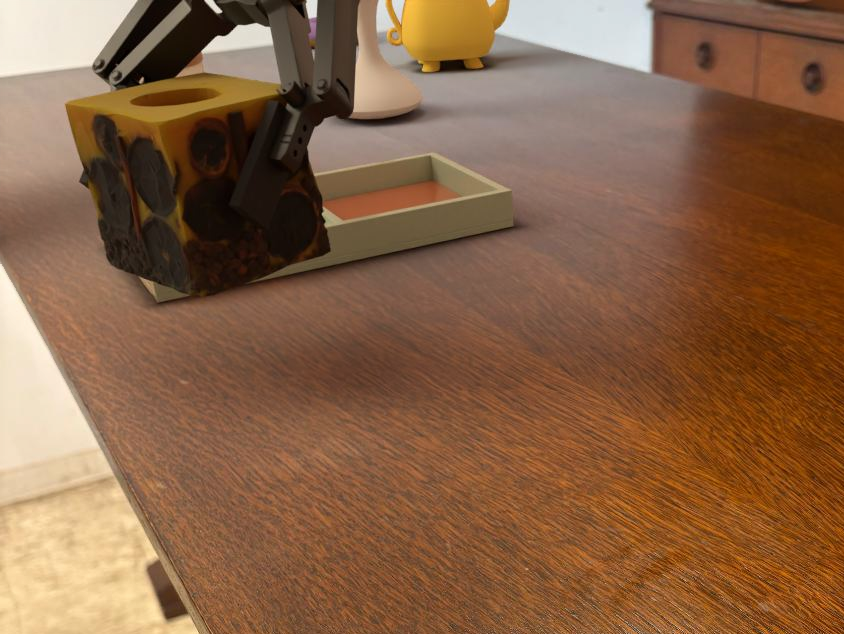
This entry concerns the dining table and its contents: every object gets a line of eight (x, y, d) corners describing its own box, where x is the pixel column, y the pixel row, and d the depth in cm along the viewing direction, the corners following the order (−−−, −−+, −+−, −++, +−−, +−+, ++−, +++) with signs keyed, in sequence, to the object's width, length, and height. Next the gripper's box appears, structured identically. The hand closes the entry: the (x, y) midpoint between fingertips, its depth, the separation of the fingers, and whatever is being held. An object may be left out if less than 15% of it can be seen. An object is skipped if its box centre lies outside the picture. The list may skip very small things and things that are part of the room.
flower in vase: (385, 100, 137) (358, -132, 123) (443, 112, 130) (422, -132, 116) (298, 121, 130) (260, -124, 116) (356, 135, 123) (322, -124, 109)
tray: (115, 246, 93) (106, 210, 91) (437, 184, 105) (434, 151, 103) (157, 302, 81) (147, 262, 80) (513, 226, 93) (511, 190, 92)
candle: (335, 255, 68) (311, 86, 63) (199, 304, 62) (158, 122, 56) (238, 225, 74) (208, 68, 68) (104, 267, 68) (59, 99, 62)
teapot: (387, 60, 160) (377, -38, 153) (521, 50, 163) (516, -46, 155) (393, 78, 149) (382, -26, 142) (536, 67, 151) (532, -36, 144)
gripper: (488, -72, 65) (366, 262, 62) (193, -77, 74) (78, 213, 72) (431, -176, 58) (291, 195, 56) (115, -166, 68) (-15, 150, 65)
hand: (171, 206), depth 64 cm, fingers closed on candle, 11 cm apart
